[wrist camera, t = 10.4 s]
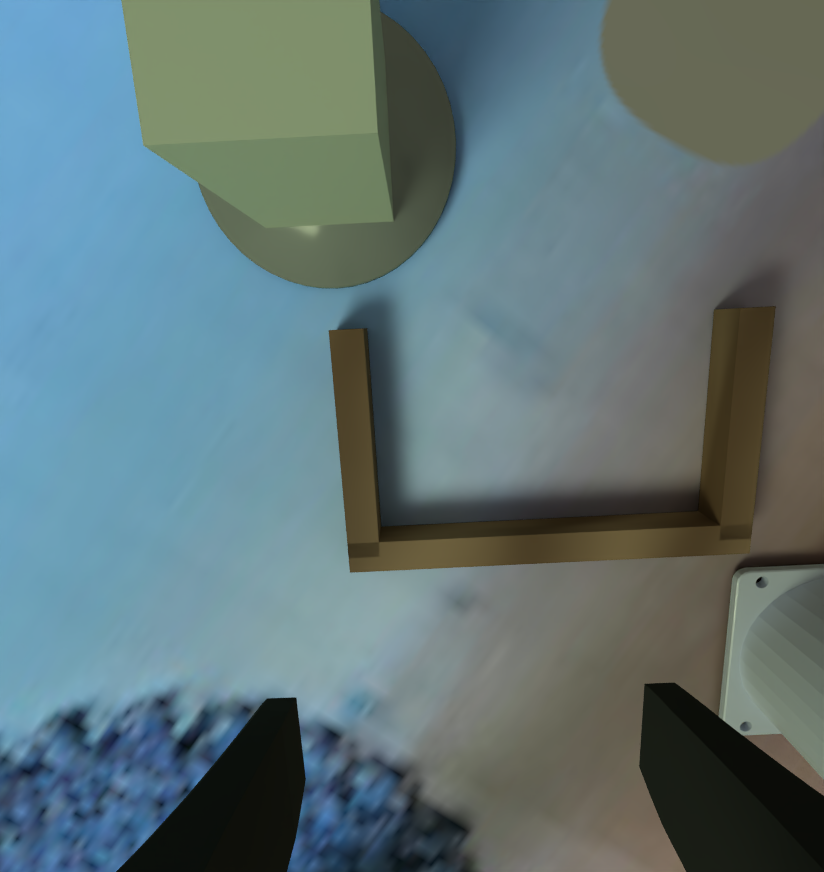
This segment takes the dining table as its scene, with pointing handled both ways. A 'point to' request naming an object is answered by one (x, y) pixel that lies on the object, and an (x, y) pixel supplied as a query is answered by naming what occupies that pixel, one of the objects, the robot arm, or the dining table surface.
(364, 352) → the brown u-shaped frame
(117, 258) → the dining table surface
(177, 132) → the block
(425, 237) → the olive flat disc
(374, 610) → the dining table surface
